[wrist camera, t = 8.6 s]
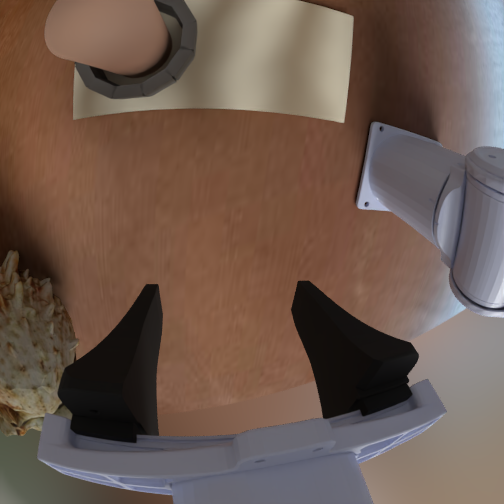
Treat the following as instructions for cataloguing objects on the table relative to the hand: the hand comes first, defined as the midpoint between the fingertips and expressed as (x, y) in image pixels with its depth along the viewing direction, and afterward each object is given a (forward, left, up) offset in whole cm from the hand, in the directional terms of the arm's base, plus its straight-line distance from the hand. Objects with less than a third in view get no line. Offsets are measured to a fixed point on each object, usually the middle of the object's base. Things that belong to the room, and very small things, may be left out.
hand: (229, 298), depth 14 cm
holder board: (+1, -14, -10) cm, 17 cm away
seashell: (+21, +8, -10) cm, 25 cm away
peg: (+6, -13, -8) cm, 17 cm away
